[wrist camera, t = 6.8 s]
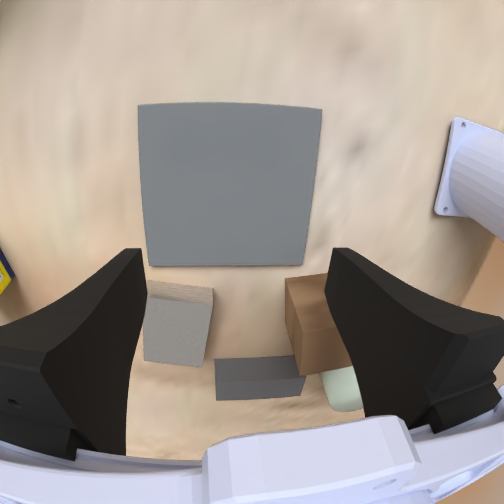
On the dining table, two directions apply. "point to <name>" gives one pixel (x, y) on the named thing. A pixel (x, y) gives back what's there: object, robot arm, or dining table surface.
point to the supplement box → (4, 273)
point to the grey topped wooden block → (176, 323)
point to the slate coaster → (227, 182)
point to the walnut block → (312, 326)
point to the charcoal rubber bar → (257, 378)
